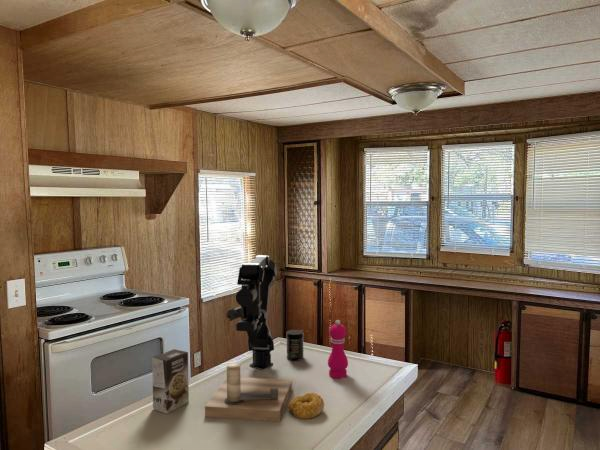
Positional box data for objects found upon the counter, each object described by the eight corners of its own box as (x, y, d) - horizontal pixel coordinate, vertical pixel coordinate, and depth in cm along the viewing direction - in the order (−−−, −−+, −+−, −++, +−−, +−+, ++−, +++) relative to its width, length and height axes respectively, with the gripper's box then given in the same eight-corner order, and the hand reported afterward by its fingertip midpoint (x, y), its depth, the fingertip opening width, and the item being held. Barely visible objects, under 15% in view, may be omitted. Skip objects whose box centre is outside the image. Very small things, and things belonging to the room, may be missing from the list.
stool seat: (228, 385, 154) (228, 375, 154) (292, 388, 151) (292, 379, 150) (205, 416, 132) (204, 405, 132) (279, 421, 129) (279, 410, 129)
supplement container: (306, 359, 177) (305, 333, 177) (289, 362, 175) (289, 335, 174) (300, 354, 184) (300, 328, 183) (284, 356, 181) (284, 330, 181)
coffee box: (167, 414, 133) (165, 360, 132) (152, 409, 137) (150, 356, 136) (189, 402, 141) (188, 351, 140) (175, 397, 145) (174, 348, 144)
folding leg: (227, 397, 137) (226, 363, 136) (277, 394, 139) (277, 361, 138) (226, 403, 133) (226, 368, 132) (278, 400, 135) (278, 366, 134)
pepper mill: (348, 371, 165) (348, 317, 164) (348, 379, 158) (348, 323, 157) (328, 370, 166) (327, 317, 165) (327, 378, 159) (327, 322, 157)
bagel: (295, 401, 142) (295, 386, 141) (329, 408, 137) (329, 392, 137) (281, 416, 133) (281, 400, 132) (317, 423, 128) (316, 406, 128)
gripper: (236, 293, 166) (237, 335, 167) (220, 305, 147) (221, 352, 148) (266, 293, 164) (267, 336, 165) (253, 306, 146) (254, 353, 147)
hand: (252, 344), depth 156 cm, fingers closed
